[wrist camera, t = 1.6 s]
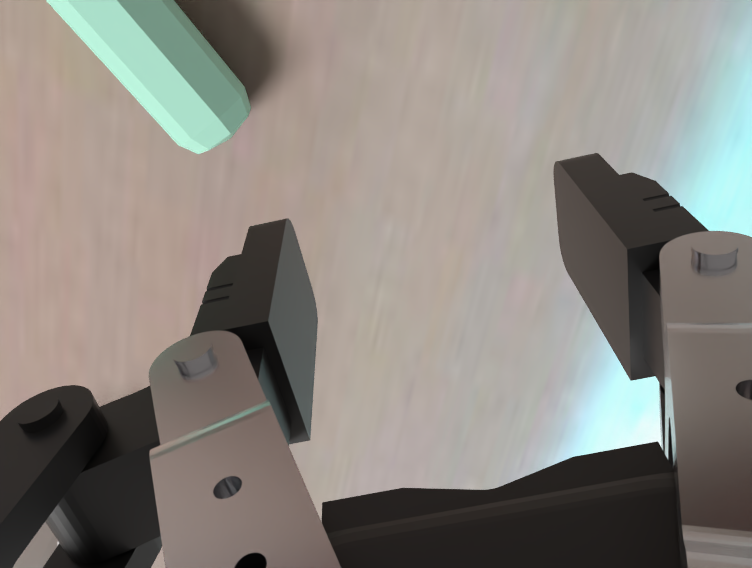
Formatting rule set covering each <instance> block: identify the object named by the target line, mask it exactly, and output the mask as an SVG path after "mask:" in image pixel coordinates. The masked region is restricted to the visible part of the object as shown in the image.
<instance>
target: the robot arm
mask: <svg viewBox="0 0 752 568" xmlns="http://www.w3.org/2000/svg"><path fill="white" fill-rule="evenodd" d="M554 186H555V198H556V209H557V221H558V233H559V243H560V249H561V254H562V258H563V262H564V265H565V268H566V270H567V272H568V274H569V276H570V277H571V279H572V281H573V282H574V284H575V286H576V288H577V289H578V291H579V293H580V294H581V296H582V298H583V300H584V301H585V303H586V305H587V306H588V308H589V310H590V312H591V313H592V315H593V317H594V318H595V320H596V322H597V324H598V325H599V327H600V329H601V330H602V332H603V334H604V336H605V337H606V339H607V341H608V342H609V344H610V346H611V347H612V349H613V351H614V353H615V354H616V356H617V358H618V359H619V361H620V363H621V365H622V366H623V368H624V370H625V371H626V373H627V375H628V377H629V378H630V380H637V379H642V378H647V377H653V376H656V378H657V379H658V381H659V405H660V425H661V444H662V448H661V446H660V445H659V443H658V442H653V443H647V444H642V445H636V446H631V447H625V448H620V449H614V450H609V451H603V452H598V453H592V454H587V455H581V456H576V457H572V458H569V459H567V460H565V461H562V462H560V463H557V464H555V465H552V466H550V467H547V468H545V469H542V470H540V471H537V472H535V473H533V474H530V475H528V476H525V477H523V478H520V479H518V480H515V481H513V482H510V483H508V484H506V485H503V486H501V487H498V488H495V489H489V490H463V489H424V488H400V489H394V490H389V491H383V492H378V493H372V494H367V495H361V496H356V497H350V498H345V499H339V500H334V501H328V502H323V503H322V522H321V520H320V518H319V515H318V513H317V511H316V508H315V506H314V504H313V501H312V499H311V497H310V495H309V492H308V490H307V488H306V485H305V483H304V481H303V478H302V476H301V474H300V471H299V469H298V467H297V465H296V462H295V460H294V458H293V455H292V453H291V451H290V448H289V444H293V443H298V442H303V441H309V440H310V434H311V418H312V402H313V387H314V371H315V355H316V340H317V324H318V318H317V309H316V303H315V298H314V294H313V290H312V287H311V283H310V280H309V277H308V273H307V270H306V267H305V263H304V260H303V257H302V254H301V250H300V247H299V244H298V240H297V237H296V234H295V231H294V228H293V225H292V223H291V221H290V220H289V219H283V220H278V221H273V222H269V223H264V224H259V225H254V226H250V227H249V229H248V233H247V236H246V240H245V243H244V247H243V250H242V254H240V255H235V256H230V257H227V258H226V259H225V260H224V261H223V262H222V263H221V264H220V265H219V266H218V267H217V268H216V269H215V270H214V271H213V272H212V275H211V277H210V280H209V283H208V286H207V291H206V292H205V295H204V298H203V300H202V303H203V304H202V305H201V306H200V309H199V312H198V315H197V318H196V320H195V323H194V326H193V329H192V332H191V335H190V336H189V337H187V338H185V339H182V340H180V341H178V342H177V343H175V344H173V345H172V346H170V347H169V348H167V349H166V350H165V351H163V352H162V353H161V354H160V355H159V356H158V357H157V358H156V359H155V361H154V362H153V364H152V365H151V367H150V370H149V382H150V386H148V387H146V388H144V389H142V390H140V391H138V392H136V393H133V394H131V395H128V396H126V397H123V398H121V399H118V400H116V401H113V402H111V403H108V404H106V405H103V406H101V407H99V406H98V404H97V402H96V400H95V398H94V397H93V395H92V393H91V391H90V390H88V389H87V388H85V387H82V386H76V385H70V386H62V387H57V388H54V389H50V390H47V391H45V392H42V393H40V394H38V395H36V396H34V397H32V398H30V399H28V400H26V401H25V402H23V403H21V404H20V405H19V406H17V407H16V408H14V409H13V410H12V411H11V412H9V413H8V414H7V415H6V416H5V417H4V418H3V419H2V420H1V421H0V568H13V566H14V564H15V563H16V561H17V560H18V558H19V557H20V556H21V554H22V553H23V551H24V550H25V549H26V547H27V546H28V545H29V543H30V542H31V540H32V539H33V538H34V536H35V535H36V534H37V532H38V531H39V529H40V528H41V527H42V525H43V524H44V523H45V522H46V524H47V525H48V527H49V528H50V530H51V531H52V533H53V534H54V536H55V537H56V539H57V540H58V542H59V544H58V546H57V547H56V549H55V550H54V552H53V553H52V555H51V556H50V558H49V559H48V561H47V562H46V563H45V565H44V566H43V568H151V566H152V565H153V563H154V561H155V559H156V557H157V555H158V553H159V552H160V550H161V547H163V554H164V561H165V568H752V237H749V236H746V235H743V234H739V233H733V232H724V231H708V230H707V229H706V228H705V227H704V226H703V225H702V224H701V223H700V222H699V221H698V220H697V219H696V218H695V217H693V216H692V215H691V214H690V213H689V212H688V211H687V210H686V209H685V208H684V207H683V206H681V207H680V203H678V202H677V201H676V200H675V199H674V198H673V197H672V196H669V193H668V192H667V191H666V190H665V189H663V188H662V187H661V186H660V185H659V184H658V183H657V182H656V181H654V180H651V179H649V178H646V177H643V176H640V175H637V174H635V173H627V174H622V175H619V174H618V173H617V172H616V171H615V170H614V169H613V168H612V167H611V166H610V165H609V164H608V163H607V162H606V161H605V160H604V159H603V158H602V157H601V156H600V155H599V154H598V153H594V154H590V155H585V156H580V157H576V158H571V159H566V160H562V161H557V162H555V165H554Z"/></svg>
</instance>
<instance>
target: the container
mask: <svg viewBox="0 0 752 568" xmlns="http://www.w3.org/2000/svg"><path fill="white" fill-rule="evenodd" d="M46 1H47V2H48V3H49V4H50V5H51V6H52V7H53V8H54V10H55V11H56V12H57V13H58V14H59V15H60V16H61V17H62V18H63V19H64V20H65V22H66V23H67V24H68V25H69V26H70V27H71V28H72V29H73V30H74V31H75V33H76V34H77V35H78V36H79V37H80V38H81V39H82V40H83V41H84V42H85V43H86V45H87V46H88V47H89V48H90V49H91V50H92V51H93V52H94V53H95V54H96V56H97V57H98V58H99V59H100V60H101V61H102V62H103V63H104V64H105V65H106V66H107V68H108V69H109V70H110V71H111V72H112V73H113V74H114V75H115V76H116V77H117V79H118V80H119V81H120V82H121V83H122V84H123V85H124V86H125V87H126V88H127V89H128V91H129V92H130V93H131V94H132V95H133V96H134V97H135V98H136V99H137V100H138V101H139V103H140V104H141V105H142V106H143V107H144V108H145V109H146V110H147V111H148V112H149V114H150V115H151V116H152V117H153V118H154V119H155V120H156V121H157V122H158V123H159V124H160V126H161V127H162V128H163V129H164V130H165V131H166V132H167V133H168V134H169V135H170V137H171V138H172V139H173V140H174V141H175V142H176V143H177V144H178V145H179V146H181V147H184V148H186V149H188V150H190V151H192V152H195V153H197V154H200V153H203V152H205V151H208V150H210V149H212V148H214V147H216V146H217V145H219V144H221V143H223V142H225V141H227V140H228V139H230V138H231V137H232V136H233V135H234V134H235V132H236V131H237V130H238V128H239V127H240V126H241V125H242V123H243V122H244V121H245V119H246V118H247V117H248V115H249V112H250V110H251V106H250V103H249V100H248V96H247V93H246V89H245V87H244V86H243V84H242V83H241V82H240V81H239V79H238V78H237V77H236V76H235V75H234V73H233V72H232V71H231V70H230V68H229V67H228V66H227V65H226V64H225V62H224V61H223V60H222V59H221V57H220V56H219V55H218V54H217V53H216V51H215V50H214V49H213V48H212V46H211V45H210V44H209V43H208V42H207V40H206V39H205V38H204V37H203V35H202V34H201V33H200V32H199V31H198V29H197V28H196V27H195V26H194V24H193V23H192V22H191V21H190V20H189V18H188V17H187V16H186V15H185V13H184V12H183V11H182V10H181V9H180V7H179V6H178V5H177V4H176V2H175V1H174V0H46Z"/></svg>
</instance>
